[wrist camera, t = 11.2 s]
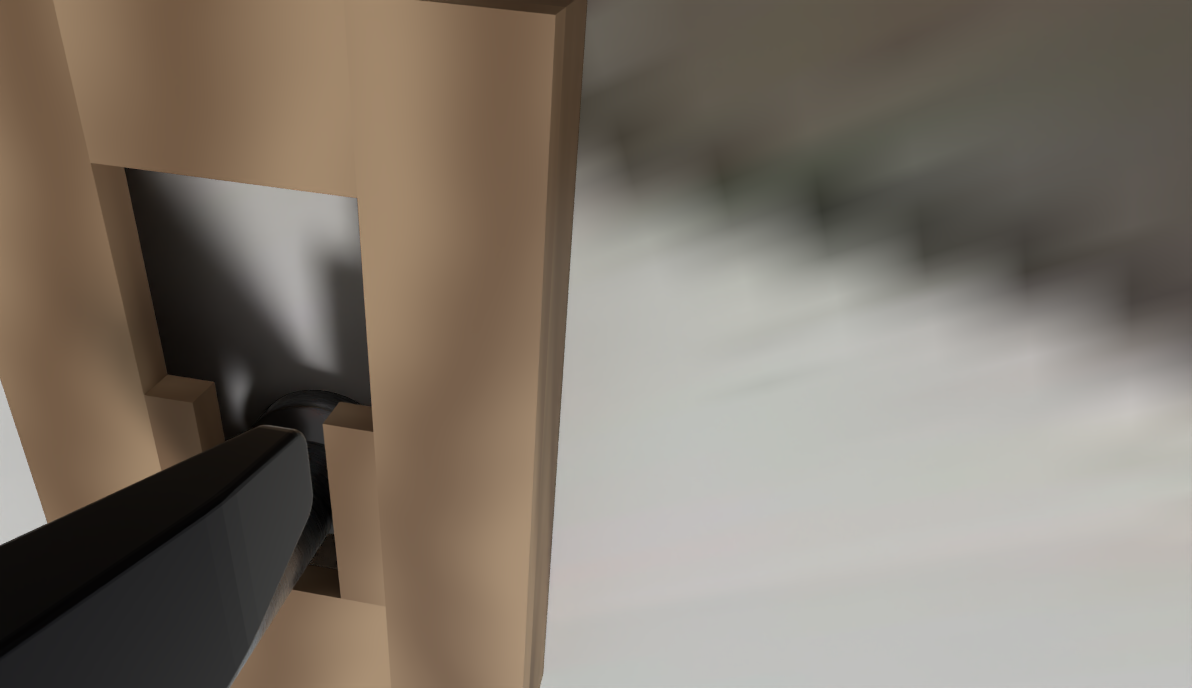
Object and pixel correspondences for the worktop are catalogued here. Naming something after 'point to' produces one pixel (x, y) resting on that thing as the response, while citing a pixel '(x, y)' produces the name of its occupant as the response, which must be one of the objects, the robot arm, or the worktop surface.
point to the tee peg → (308, 418)
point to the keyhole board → (390, 280)
